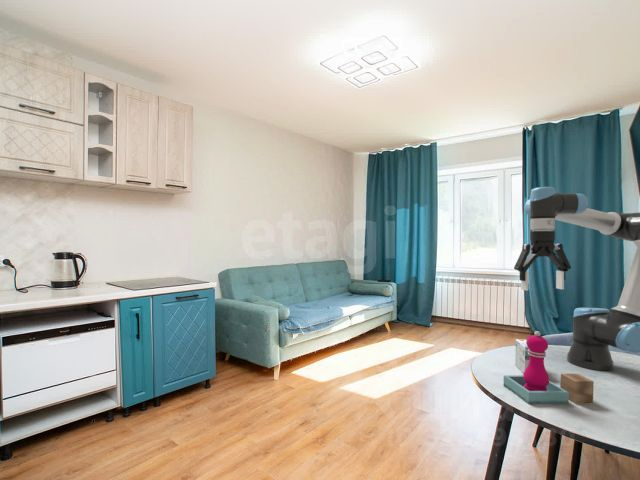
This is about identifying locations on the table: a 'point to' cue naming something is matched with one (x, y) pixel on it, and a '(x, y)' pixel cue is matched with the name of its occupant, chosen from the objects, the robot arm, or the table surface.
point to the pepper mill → (536, 364)
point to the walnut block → (578, 388)
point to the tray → (536, 397)
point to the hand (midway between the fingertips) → (542, 289)
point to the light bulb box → (521, 355)
